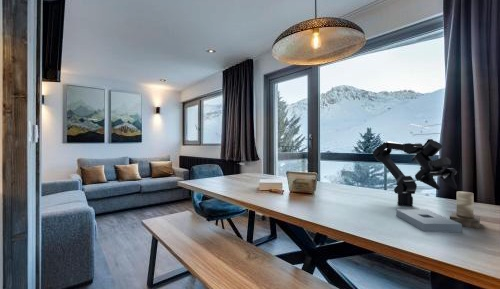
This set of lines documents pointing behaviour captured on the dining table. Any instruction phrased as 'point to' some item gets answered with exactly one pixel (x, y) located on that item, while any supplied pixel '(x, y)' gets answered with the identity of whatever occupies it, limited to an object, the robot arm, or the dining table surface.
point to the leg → (465, 204)
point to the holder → (466, 220)
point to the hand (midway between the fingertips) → (447, 189)
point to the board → (428, 220)
